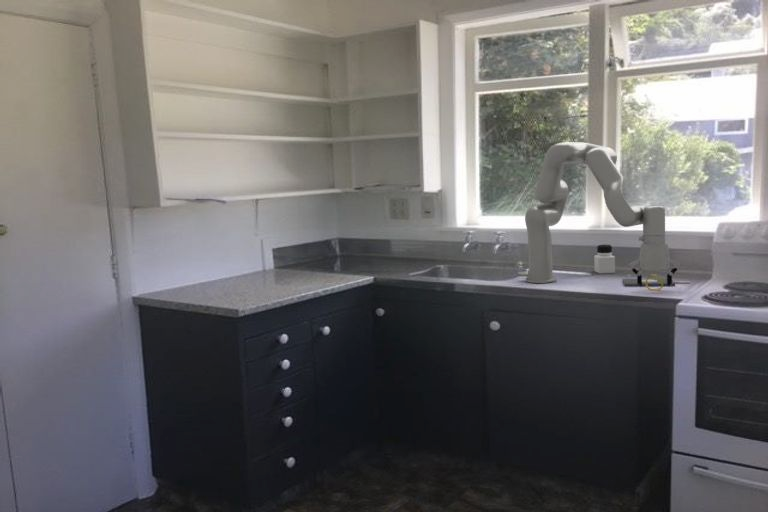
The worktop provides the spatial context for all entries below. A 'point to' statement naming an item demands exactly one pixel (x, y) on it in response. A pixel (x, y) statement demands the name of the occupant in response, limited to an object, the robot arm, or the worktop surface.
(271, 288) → the worktop surface
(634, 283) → the charging pad
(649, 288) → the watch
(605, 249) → the medicine bottle
